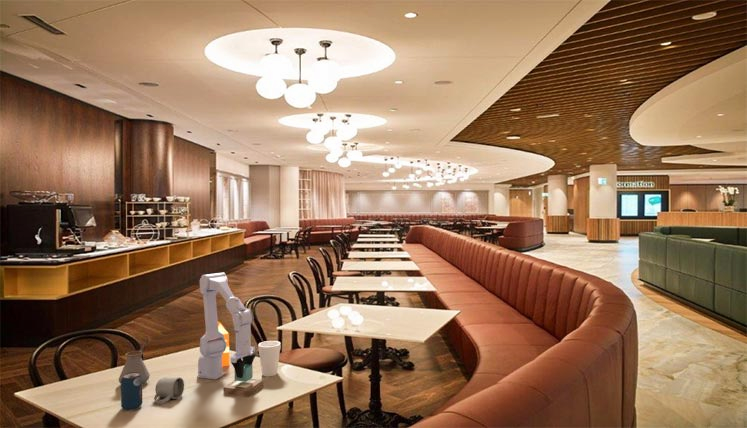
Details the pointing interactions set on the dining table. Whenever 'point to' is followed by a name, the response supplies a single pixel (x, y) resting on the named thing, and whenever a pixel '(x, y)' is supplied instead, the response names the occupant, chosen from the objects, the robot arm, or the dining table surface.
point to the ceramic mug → (169, 389)
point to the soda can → (131, 391)
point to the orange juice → (226, 353)
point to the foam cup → (269, 357)
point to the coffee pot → (136, 364)
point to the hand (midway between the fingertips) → (243, 375)
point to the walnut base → (243, 387)
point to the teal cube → (245, 373)
